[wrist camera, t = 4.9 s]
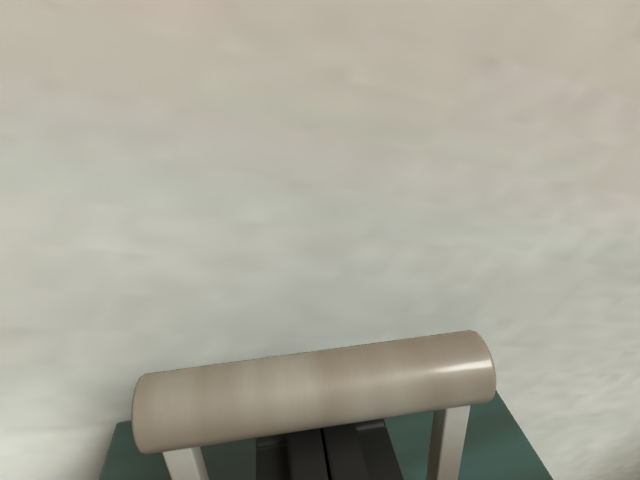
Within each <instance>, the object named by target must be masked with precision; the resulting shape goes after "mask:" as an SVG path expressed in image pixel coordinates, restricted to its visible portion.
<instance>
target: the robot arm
mask: <svg viewBox="0 0 640 480" xmlns="http://www.w3.org/2000/svg"><path fill="white" fill-rule="evenodd" d="M256 480H403V477H402V473H401V470H400V467H399V464H398V461H397V458H396V455H395V452H394V449H393V446H392V443H391V439H390V436H389V433H388V430H387V427H386V425H385V421H384V418H383V419H377V420H370V421H364V422H357V423H351V424H344V425H337V426H331V427H324V428H318V429H311V430H305V431H298V432H292V433H285V434H278V435H272V436H265V437H259V438H256Z"/></svg>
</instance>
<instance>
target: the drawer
mask: <svg viewBox="0 0 640 480" xmlns="http://www.w3.org/2000/svg"><path fill="white" fill-rule="evenodd" d="M383 418H384V421H385V425H386V427H387V430H388V433H389V436H390V439H391V443H392V446H393V449H394V452H395V455H396V458H397V461H398V464H399V467H400V470H401V473H402V477H403V480H553V479H552V477H551V475H550V474H549V472H548V471H547V469H546V468H545V466H544V465H543V463H542V461H541V460H540V458H539V457H538V455H537V454H536V452H535V450H534V449H533V447H532V446H531V444H530V443H529V441H528V439H527V438H526V436H525V435H524V433H523V432H522V430H521V429H520V427H519V425H518V424H517V422H516V421H515V419H514V418H513V416H512V414H511V413H510V411H509V410H508V408H507V407H506V405H505V404H504V402H503V400H502V399H501V397H500V396H499V394H498V393H497V391H496V374H495V368H494V364H493V360H492V357H491V354H490V351H489V349H488V347H487V345H486V343H485V342H484V340H483V339H482V337H481V336H480V335H479V334H478V333H476V332H474V331H471V330H468V331H460V332H453V333H445V334H438V335H431V336H423V337H416V338H408V339H401V340H393V341H386V342H378V343H371V344H364V345H356V346H349V347H341V348H334V349H326V350H319V351H311V352H304V353H297V354H289V355H282V356H274V357H267V358H259V359H252V360H244V361H237V362H230V363H222V364H215V365H207V366H200V367H192V368H185V369H177V370H170V371H163V372H155V373H148V374H144V375H143V376H141V377H140V378H139V380H138V382H137V384H136V387H135V391H134V395H133V401H132V421H126V422H119V423H117V425H116V428H115V431H114V434H113V438H112V441H111V444H110V447H109V450H108V453H107V456H106V459H105V462H104V465H103V468H102V471H101V474H100V478H99V480H256V438H259V437H265V436H272V435H278V434H285V433H292V432H298V431H305V430H311V429H318V428H324V427H331V426H337V425H344V424H351V423H357V422H364V421H370V420H377V419H383Z"/></svg>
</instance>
